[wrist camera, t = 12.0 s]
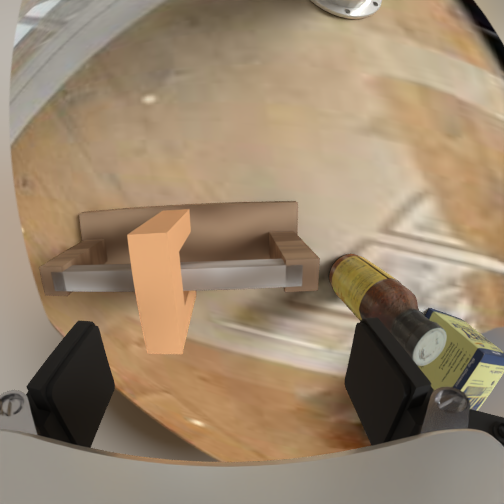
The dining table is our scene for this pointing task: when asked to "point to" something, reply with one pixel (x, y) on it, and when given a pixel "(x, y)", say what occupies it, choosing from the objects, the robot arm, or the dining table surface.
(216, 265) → the rail stand
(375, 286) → the sauce bottle
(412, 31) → the dining table surface
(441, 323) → the protein box
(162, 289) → the wooden arch block
